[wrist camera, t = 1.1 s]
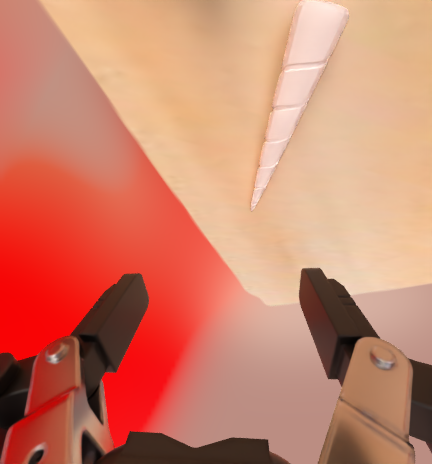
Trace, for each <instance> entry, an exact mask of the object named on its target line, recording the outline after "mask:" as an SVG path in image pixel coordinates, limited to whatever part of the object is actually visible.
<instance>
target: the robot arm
mask: <svg viewBox="0 0 432 464" xmlns="http://www.w3.org/2000/svg"><path fill="white" fill-rule="evenodd" d="M299 300H300V305H301V308H302V311H303V313H304V316H305V318H306V321H307V324H308V327H309V329H310V332H311V335H312V337H313V340H314V342H315V345H316V348H317V351H318V353H319V356H320V358H321V361H322V364H323V367H324V369H325V372H326V375H327V377H328V379H338V380H339V382H340V384H341V387H342V389H341V392H340V396H339V398H338V401H337V404H336V407H335V410H334V413H333V417H332V420H331V423H330V426H329V429H328V432H327V436H326V439H325V442H324V445H323V448H322V451H321V455H320V458H319V461H318V464H415V451H414V447H413V445H412V444H410V443H409V435H410V436H412V437H415V438H417V439H420V440H423V441H425V442H426V444H427V445H428V447H429V449H430V451H431V452H432V365H429V364H425V363H421V362H417V361H414V360H411V359H409V358H407V357H406V356H405V355H404V354H403V352H401V351H400V350H399V349H398V348H397V347H395V346H394V345H392V344H391V343H389V342H387V341H384V340H382V339H380V337H379V336H378V335H377V334H376V332H375V330H374V329H373V328H372V326H371V325H370V323H369V322H368V320H367V319H366V318H365V316H364V315H363V313H362V312H361V310H360V309H359V308H358V306H356V303H355V302H354V300H353V299H352V298H351V297H350V294H349V293H348V292H347V290H346V289H345V287H344V286H343V285H341V284H340V283H339V282H337V281H336V280H335V279H327V278H326V276H325V275H324V273H323V271H322V270H321V269H320V268H304V269H302V271H301V280H300V290H299ZM148 304H149V297H148V293H147V290H146V287H145V284H144V281H143V277H142V275H141V274H139V273H138V274H124V275H123V276H122V277H121V279H120V280H119V281H118V283H117V284H114V285H113V286H111V287H110V288H109V289H108V290H106V291H105V292H104V293H103V295H102V296H101V297H100V298H99V299H98V301H97V302H96V303H95V305H94V306H93V308H91V309H90V311H89V312H88V313H87V314H86V316H85V317H84V318H83V320H82V321H81V322H80V323H79V325H78V326H77V327H76V328H75V330H74V331H73V332H72V333H71V335H70V336H65V337H62V338H59V339H57V340H55V341H54V342H52V343H50V344H49V345H47V346H46V347H45V348H44V349H43V350H42V351H41V352H40V353H39V354H38V355H36V356H33V357H29V358H26V359H23V360H19V361H17V360H16V359H15V358H14V357H13V355H12V354H10V353H1V354H0V464H290V463H289V462H288V461H286V460H285V459H283V458H282V457H280V456H278V455H276V454H274V453H272V452H270V451H269V445H268V440H265V439H248V438H229V439H226V440H222V441H219V442H215V443H212V444H209V445H205V446H202V447H199V448H192V447H190V446H188V445H186V444H184V443H181V442H179V441H177V440H175V439H173V438H171V437H168V436H166V435H164V434H162V433H148V432H131V431H130V433H129V435H128V438H127V441H126V444H124V445H122V446H119V447H117V448H114V444H113V441H112V438H111V435H110V432H109V427H108V419H107V411H106V404H105V396H104V387H103V382H102V380H101V379H102V377H103V375H104V373H105V372H113V373H114V372H115V373H116V372H117V370H118V367H119V365H120V363H121V361H122V359H123V357H124V355H125V353H126V351H127V349H128V347H129V345H130V343H131V341H132V339H133V337H134V335H135V332H136V330H137V328H138V326H139V324H140V322H141V320H142V318H143V316H144V314H145V312H146V310H147V307H148Z"/></svg>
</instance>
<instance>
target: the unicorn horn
mask: <svg viewBox="0 0 432 464" xmlns="http://www.w3.org/2000/svg"><path fill="white" fill-rule="evenodd" d="M348 19H349V10H347V9H346V8H345V7H343V6H341V5H338V4H336V3H332V2H328V1H322V0H304V1H301V2H299V4H298V5H297V6H296V9H295V12H294V16H293V19H292V24H291V28H290V32H289V37H288V41H287V45H286V50H285V54H284V58H283V63H282V67H281V68H282V71H283V72H281V73H280V75H279V79H278V83H277V87H276V91H275V95H274V99H273V103H272V108H273V111H272V112H270V116H269V121H268V126H267V130H266V134H265V139H266V143H263V147H262V152H261V156H260V161H259V165H260V168H258V170H257V175H256V180H255V185H254V186H255V187H256V188H255V189H254V190H253V196H252V202H251V211H253V209H254V208H255V206H256V205H257V203H258V201H259V199H260V198H261V196H262V194H263V192H264V190H265V188H266V186H267V184H268V182H269V180H270V178H271V176H272V174H273V172H274V171H275V169H276V167H277V165H278V163H279V160H280V158H281V156H282V155H283V153H284V151H285V148H286V146H287V144H288V142H289V140H290V138H291V136H292V133H293V132H294V130H295V128H296V126H297V124H298V122H299V120H300V118H301V116H302V114H303V112H304V110H305V108H306V106H307V104H308V100H309V99H310V97H311V95H312V93H313V91H314V89H315V87H316V85H317V83H318V81H319V79H320V77H321V75H322V73H323V71H324V69H325V67H326V65H327V63H328V62H327V59H329V57H330V56H331V55H332V53H333V51H334V48H335V46H336V44H337V42H338V40H339V38H340V36H341V34H342V32H343V30H344V28H345V26H346V24H347V21H348Z"/></svg>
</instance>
